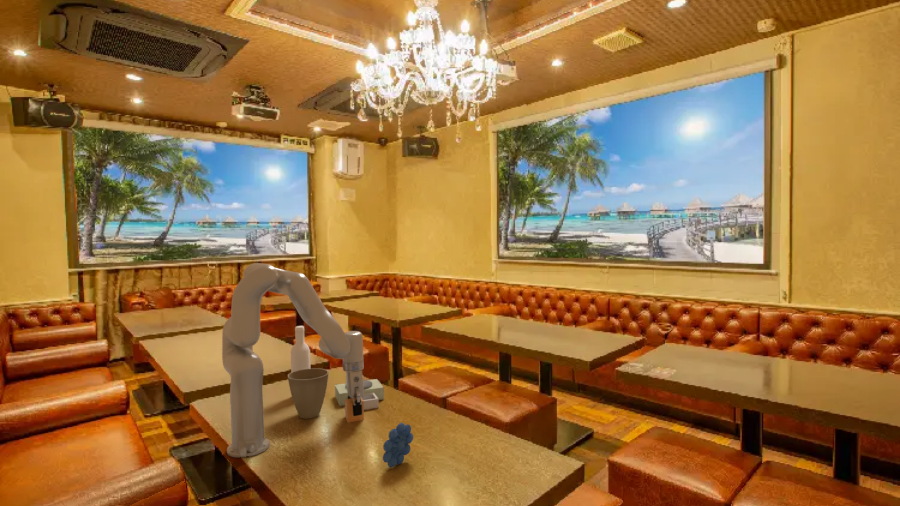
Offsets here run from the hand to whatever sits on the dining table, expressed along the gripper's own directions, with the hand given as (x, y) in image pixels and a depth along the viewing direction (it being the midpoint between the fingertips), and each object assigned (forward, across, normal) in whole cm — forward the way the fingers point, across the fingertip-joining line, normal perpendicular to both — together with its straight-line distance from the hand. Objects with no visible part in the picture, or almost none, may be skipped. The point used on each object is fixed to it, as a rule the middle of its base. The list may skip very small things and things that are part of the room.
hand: (354, 410), depth 172 cm
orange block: (+3, 0, 0) cm, 3 cm away
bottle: (+3, +33, +16) cm, 37 cm away
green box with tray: (+3, +17, -6) cm, 18 cm away
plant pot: (+3, +11, +15) cm, 19 cm away
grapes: (+3, -39, -5) cm, 40 cm away
